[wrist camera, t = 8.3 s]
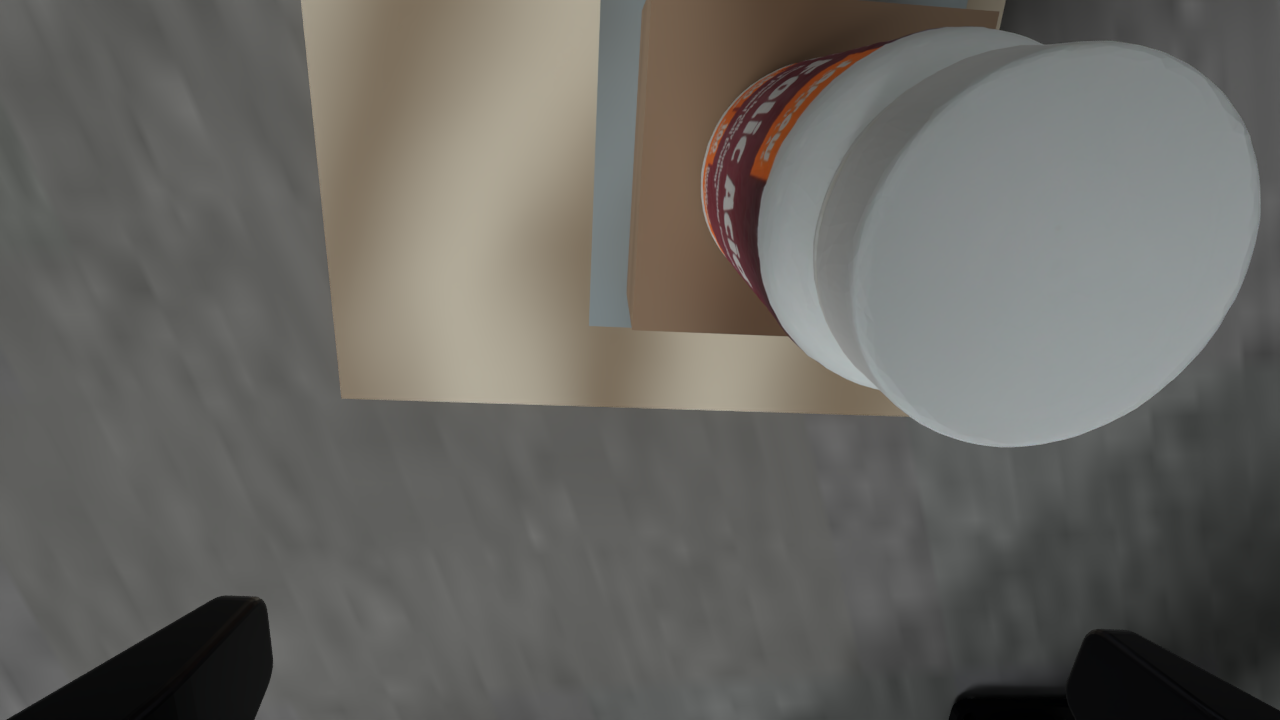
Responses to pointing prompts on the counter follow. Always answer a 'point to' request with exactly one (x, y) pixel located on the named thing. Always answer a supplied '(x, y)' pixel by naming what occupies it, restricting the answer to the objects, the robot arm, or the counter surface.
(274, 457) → the counter surface
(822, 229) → the pill bottle
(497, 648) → the counter surface
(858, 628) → the counter surface
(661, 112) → the walnut block
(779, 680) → the counter surface
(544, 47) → the plate
